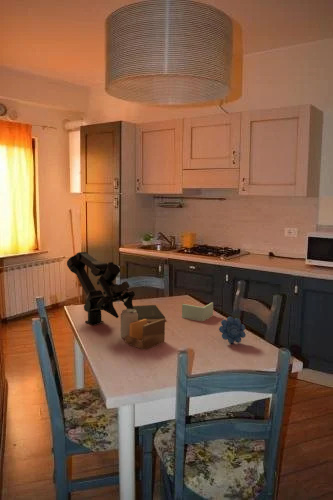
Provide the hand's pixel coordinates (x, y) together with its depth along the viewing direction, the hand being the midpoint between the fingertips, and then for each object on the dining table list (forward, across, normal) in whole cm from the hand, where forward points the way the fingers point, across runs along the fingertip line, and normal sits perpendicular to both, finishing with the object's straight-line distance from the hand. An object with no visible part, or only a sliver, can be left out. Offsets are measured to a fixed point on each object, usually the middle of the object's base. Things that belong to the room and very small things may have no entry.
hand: (125, 315), depth 180 cm
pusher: (+12, 0, +2) cm, 12 cm away
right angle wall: (+12, +45, +3) cm, 47 cm away
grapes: (+35, +24, -21) cm, 48 cm away
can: (+8, 0, +5) cm, 10 cm away
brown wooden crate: (+14, 0, -1) cm, 15 cm away
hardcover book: (-4, +28, +18) cm, 33 cm away
